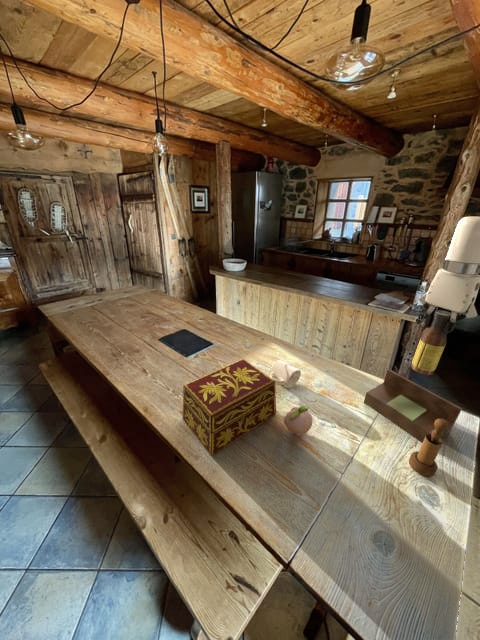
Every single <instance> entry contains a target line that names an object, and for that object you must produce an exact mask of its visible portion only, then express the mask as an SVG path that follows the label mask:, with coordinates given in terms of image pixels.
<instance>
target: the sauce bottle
mask: <svg viewBox="0 0 480 640" xmlns="http://www.w3.org/2000/svg"><path fill="white" fill-rule="evenodd" d="M450 319H451V312H449V311H448V310H442V309H437V310H436V311H435V313H434V318H433V320H432V322H431V325H430V326H429V327H428V328H427V327H425V328H424V330H423V332H422V334H421V336H420V338H419V342H418V344H417V348H416V350H415V353H414V355H413V358H412V361H411V366H410V367H411V369H412V370H413V371H414V372H415V373H418V374H420V375H423V376H431V375H433V374H434V372H435V370H436V369H437V367H438V365H439V362H440V359H441V358H442V354H443V352H444V349H445V348H446V345H447V334H443V331H444V328H445V326H446V323H447V321H449V320H450Z"/></svg>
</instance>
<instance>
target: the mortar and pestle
mask: <svg viewBox="0 0 480 640" xmlns="http://www.w3.org/2000/svg"><path fill="white" fill-rule="evenodd" d="M434 425H435V430H433V431H432V434H427V435H426V436H425V439H424V441H423V443H422V442H421V446H420V448H419V449H418V450H417V451H413V452H412V453H411V454H410V456H409V457H408V463H409V466H410V468H412V470H413V471H414V472H415V473H416V474H418V475H420V476H422V477H424V478H432V477H434V476H435V475H436V472H437V471H438V464H437V461H436V458H437V456H438V454H439V453H440V450H441V448H442V446H443V444H444V442H443V440H441V439H440V438H441V437H442V434H441V432H444V431H446V430H447V429H448V427H449V426H448V423H447V422H446V421H445V420H443V419H437V420H436V421H435V422H434Z"/></svg>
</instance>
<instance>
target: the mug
mask: <svg viewBox="0 0 480 640" xmlns="http://www.w3.org/2000/svg"><path fill="white" fill-rule="evenodd" d="M301 376H302V371H301V370H300V369H299V368H296V367H294V366H292V365H291V364H290V363H287V362H285V361H283V360H281V359H278V360H276V361H275V362H274V363H273V364H272V365H271V368H270V370H269V377H270V378H271V379H273V380H274V381H275V385H279V386H283V387H285V388H287V389H291V388H292V387H295V385H297V383H298V382H299V380H300V378H301Z"/></svg>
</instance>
